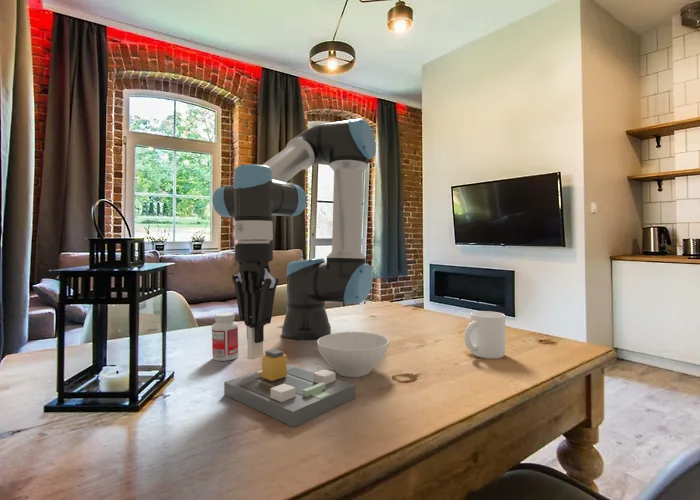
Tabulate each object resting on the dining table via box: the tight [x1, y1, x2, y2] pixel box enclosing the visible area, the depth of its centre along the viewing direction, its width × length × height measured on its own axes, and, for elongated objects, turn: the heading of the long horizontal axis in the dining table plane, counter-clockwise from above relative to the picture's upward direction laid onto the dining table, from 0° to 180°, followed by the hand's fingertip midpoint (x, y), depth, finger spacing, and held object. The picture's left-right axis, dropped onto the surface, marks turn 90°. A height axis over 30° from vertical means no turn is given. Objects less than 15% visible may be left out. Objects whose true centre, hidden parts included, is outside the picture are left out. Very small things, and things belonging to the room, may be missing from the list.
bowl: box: [316, 331, 390, 378], centre depth 89 cm, size 16×16×7 cm
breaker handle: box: [261, 348, 288, 381], centre depth 78 cm, size 3×4×5 cm
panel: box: [223, 363, 356, 428], centre depth 75 cm, size 20×15×4 cm
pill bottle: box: [211, 311, 239, 362], centre depth 100 cm, size 6×6×11 cm
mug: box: [464, 310, 506, 360], centre depth 100 cm, size 12×8×10 cm
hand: (255, 357), depth 82 cm, fingers closed
